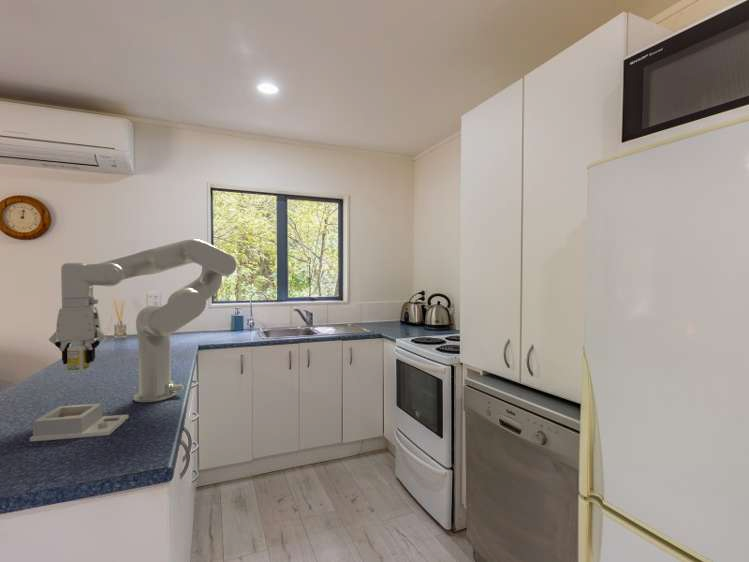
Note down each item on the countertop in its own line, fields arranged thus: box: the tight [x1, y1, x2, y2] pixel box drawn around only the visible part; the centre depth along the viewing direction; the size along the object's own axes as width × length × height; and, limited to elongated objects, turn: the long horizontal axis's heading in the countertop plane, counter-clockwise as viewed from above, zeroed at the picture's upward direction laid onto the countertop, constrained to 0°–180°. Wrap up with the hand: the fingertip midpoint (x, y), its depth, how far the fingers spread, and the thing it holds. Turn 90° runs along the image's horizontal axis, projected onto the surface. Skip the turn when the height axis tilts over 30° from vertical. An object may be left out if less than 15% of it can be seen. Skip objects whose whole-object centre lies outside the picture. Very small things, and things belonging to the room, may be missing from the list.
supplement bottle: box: [66, 340, 91, 373], centre depth 114 cm, size 5×5×10 cm
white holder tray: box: [29, 403, 129, 442], centre depth 104 cm, size 18×12×5 cm, turn 102°
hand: (78, 362), depth 115 cm, fingers closed on supplement bottle, 5 cm apart
